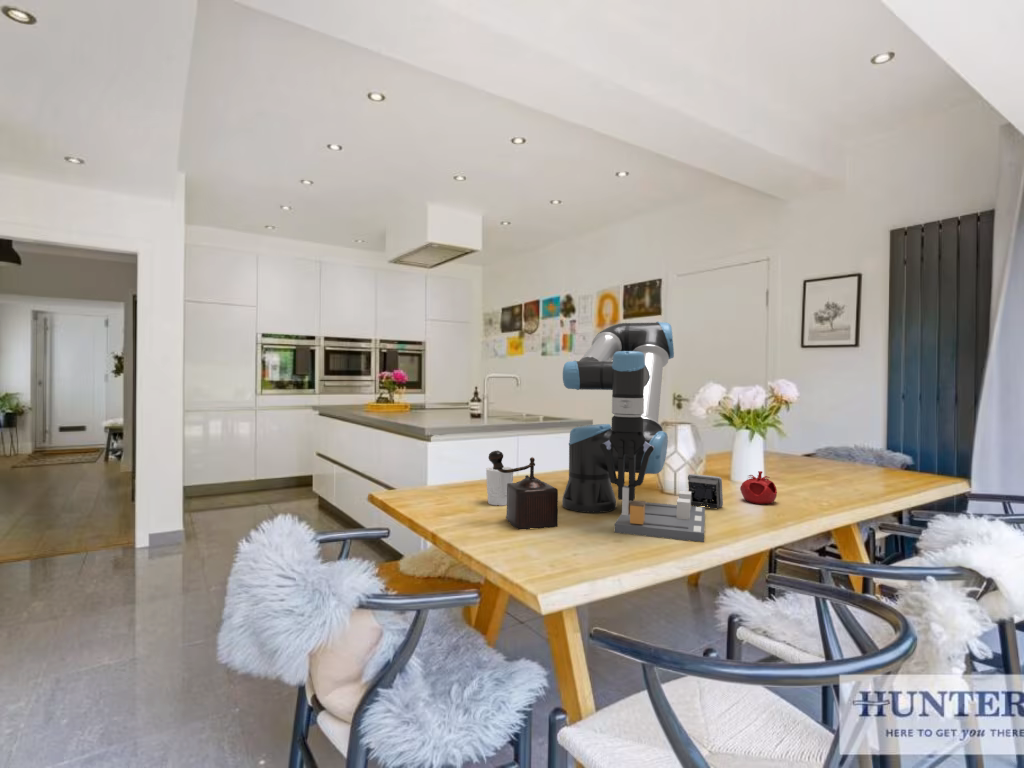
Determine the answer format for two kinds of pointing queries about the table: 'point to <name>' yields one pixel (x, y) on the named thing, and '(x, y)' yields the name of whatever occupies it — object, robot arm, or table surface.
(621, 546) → the table surface
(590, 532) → the table surface
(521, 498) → the manual coffee grinder
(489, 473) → the white cup
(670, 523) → the grey slider board
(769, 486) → the pomegranate
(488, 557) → the table surface
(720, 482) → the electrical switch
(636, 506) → the brown rectangular block
